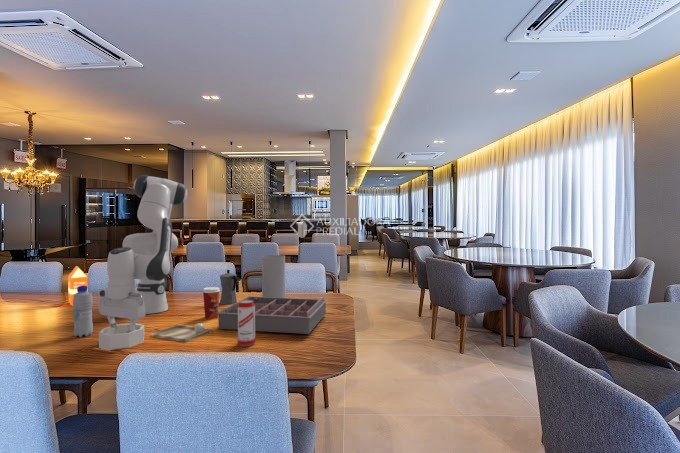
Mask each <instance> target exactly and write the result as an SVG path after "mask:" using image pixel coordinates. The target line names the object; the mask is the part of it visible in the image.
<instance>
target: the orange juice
mask: <svg viewBox="0 0 680 453" xmlns="http://www.w3.org/2000/svg"><path fill="white" fill-rule="evenodd" d="M67 277H68V278H67V279H68V283H67V284H68V286H67V288H68V303H70V304H69V305H70V306H71V305H72V306H73V303H72V302H73V296H74V294H76V293H78V292H77V287H79V286H82V285H84V286H87V291H88V292H89V290H88V288H89V287H88V276H87V275H86V273H84V271H83V270H82V269H81V268H80V267H79V266H78V265H76V266H75V267H74V268H73V270H71V272H70V273H69V275H68V276H67Z"/></svg>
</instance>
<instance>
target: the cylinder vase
mask: <svg viewBox="0 0 680 453" xmlns="http://www.w3.org/2000/svg"><path fill="white" fill-rule="evenodd" d="M261 261H262V262H261V270H262V272H261V276H262V279H261V280H262V281H261V283H262V284H261V285H262V286H261V288H262V290H261V292H262V294H261V297H275V298H286V255H283V254H268V255H263V256H261Z"/></svg>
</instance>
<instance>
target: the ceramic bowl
mask: <svg viewBox="0 0 680 453" xmlns="http://www.w3.org/2000/svg"><path fill="white" fill-rule="evenodd" d="M129 325H130V323H124V324H123V323H121V324H117V327H114V328H111V327H110V326H107V327H105V328H102V329H101V330H100V331H99V332H98V349H99V348H101V349H100V350H102V349H106V350H105V351H107V350H119V349H121V350H122V349H128V348H132V347H135V346H137V345H139V344H142V343H144V340H145V324H143V323H136V324H135V329H136V330H135V331H132V332H129V333H126V332H127V331H128V326H129ZM111 334H113V335H111Z"/></svg>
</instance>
